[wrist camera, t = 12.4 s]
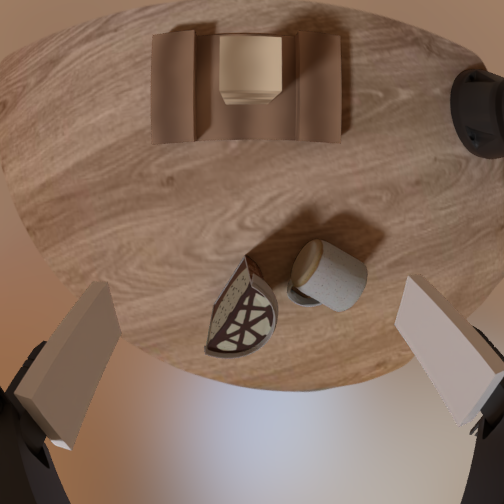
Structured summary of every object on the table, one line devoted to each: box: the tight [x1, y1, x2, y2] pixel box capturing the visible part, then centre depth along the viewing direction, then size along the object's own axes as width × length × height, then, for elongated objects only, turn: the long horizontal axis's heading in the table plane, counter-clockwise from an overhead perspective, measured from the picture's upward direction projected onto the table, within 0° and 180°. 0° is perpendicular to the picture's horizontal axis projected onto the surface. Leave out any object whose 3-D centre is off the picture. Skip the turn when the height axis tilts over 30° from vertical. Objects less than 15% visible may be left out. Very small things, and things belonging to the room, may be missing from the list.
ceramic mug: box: [287, 239, 368, 312], centre depth 38 cm, size 11×8×8 cm
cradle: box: [151, 30, 342, 145], centre depth 30 cm, size 22×14×3 cm, turn 90°
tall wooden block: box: [219, 36, 282, 104], centre depth 25 cm, size 5×5×12 cm
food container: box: [204, 255, 278, 359], centre depth 38 cm, size 12×6×10 cm, turn 149°
